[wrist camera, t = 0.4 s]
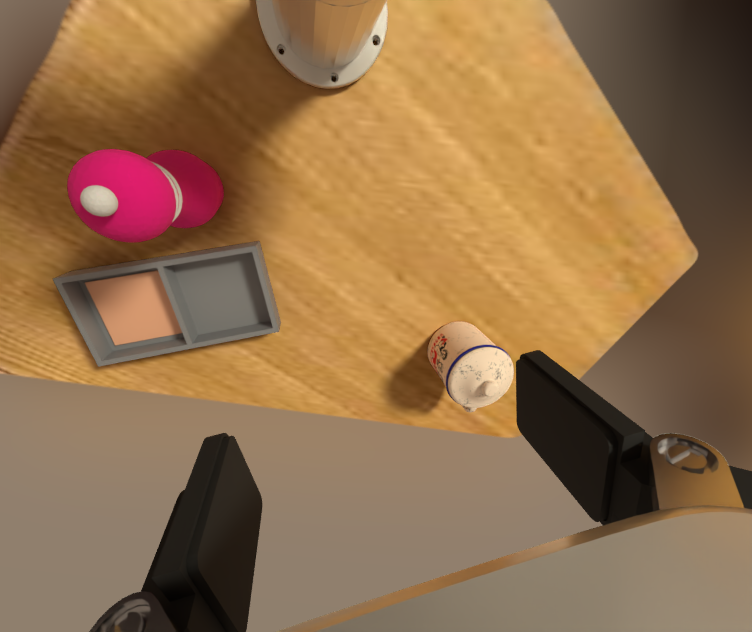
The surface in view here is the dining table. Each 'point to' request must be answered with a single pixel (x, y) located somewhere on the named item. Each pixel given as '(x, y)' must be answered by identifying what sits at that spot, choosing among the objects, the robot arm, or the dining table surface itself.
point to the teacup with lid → (470, 365)
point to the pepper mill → (143, 192)
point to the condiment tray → (171, 302)
